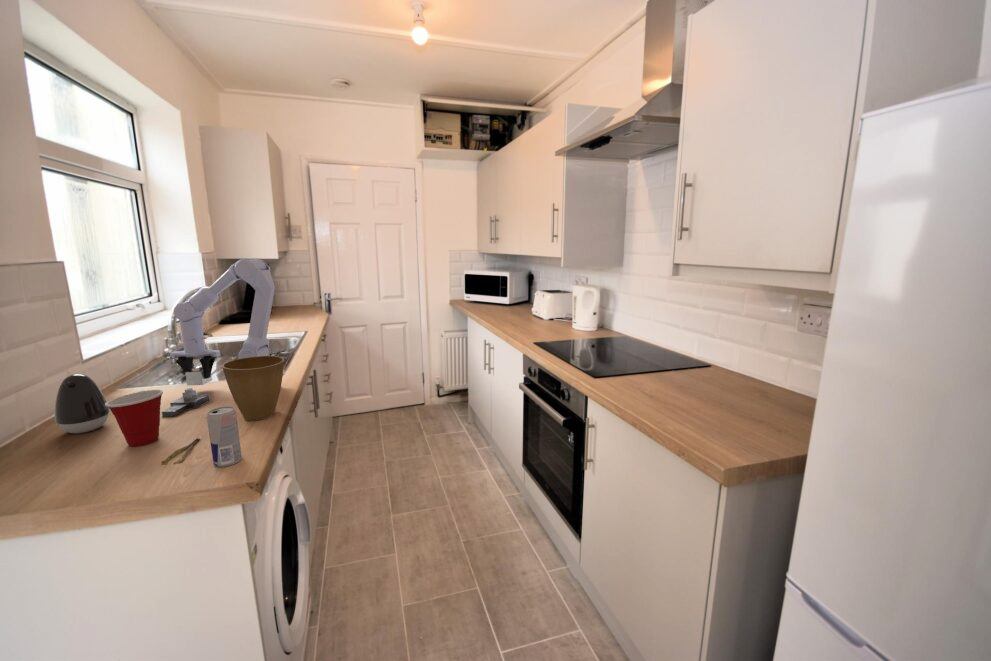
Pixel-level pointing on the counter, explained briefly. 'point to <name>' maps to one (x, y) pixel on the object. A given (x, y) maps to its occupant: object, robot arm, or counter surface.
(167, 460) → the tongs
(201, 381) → the cube with round knob
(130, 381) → the counter surface
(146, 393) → the plastic cup
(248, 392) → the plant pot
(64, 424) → the grey egg-shaped dome
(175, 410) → the dark grey piece
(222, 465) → the energy drink
